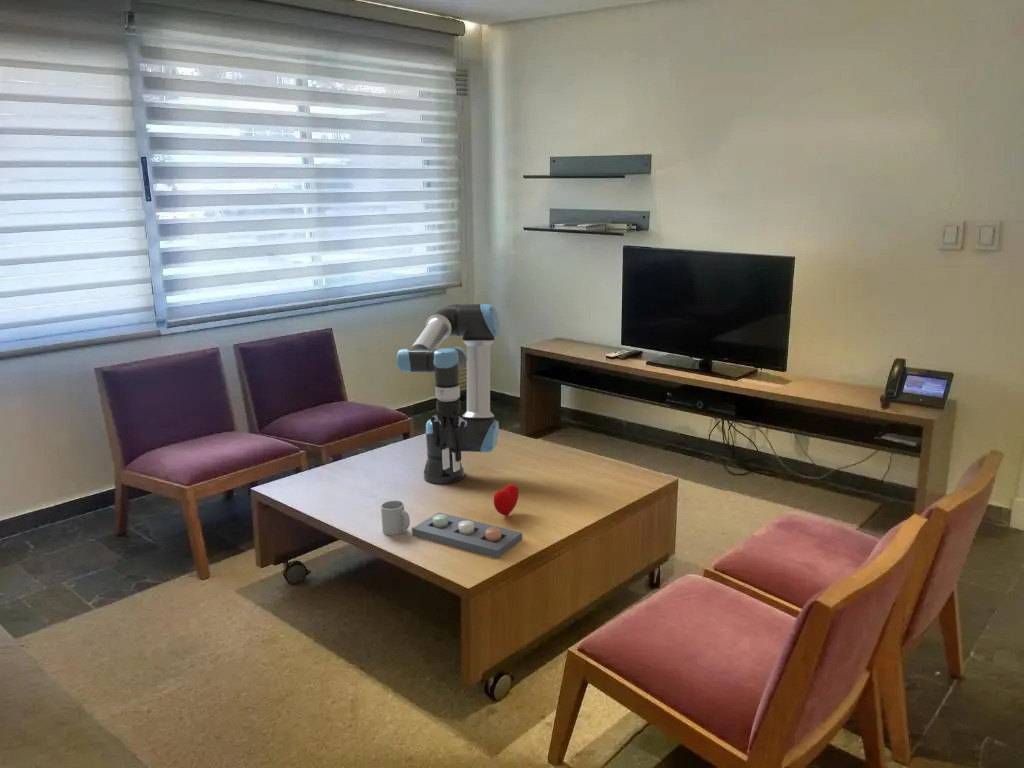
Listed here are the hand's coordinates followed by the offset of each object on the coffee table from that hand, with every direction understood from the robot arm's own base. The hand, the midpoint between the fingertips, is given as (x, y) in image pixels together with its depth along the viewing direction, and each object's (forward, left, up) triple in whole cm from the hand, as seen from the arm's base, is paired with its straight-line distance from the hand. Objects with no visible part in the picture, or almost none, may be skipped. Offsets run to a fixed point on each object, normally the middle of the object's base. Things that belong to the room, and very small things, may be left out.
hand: (451, 469), depth 254 cm
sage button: (0, -7, -17) cm, 18 cm away
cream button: (+10, -7, -17) cm, 21 cm away
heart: (+12, +13, -19) cm, 26 cm away
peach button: (+20, -7, -17) cm, 27 cm away
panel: (+10, -7, -19) cm, 22 cm away
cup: (-12, -14, -19) cm, 26 cm away
